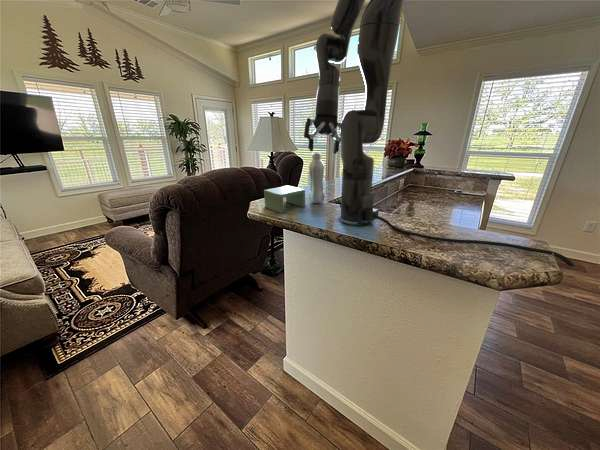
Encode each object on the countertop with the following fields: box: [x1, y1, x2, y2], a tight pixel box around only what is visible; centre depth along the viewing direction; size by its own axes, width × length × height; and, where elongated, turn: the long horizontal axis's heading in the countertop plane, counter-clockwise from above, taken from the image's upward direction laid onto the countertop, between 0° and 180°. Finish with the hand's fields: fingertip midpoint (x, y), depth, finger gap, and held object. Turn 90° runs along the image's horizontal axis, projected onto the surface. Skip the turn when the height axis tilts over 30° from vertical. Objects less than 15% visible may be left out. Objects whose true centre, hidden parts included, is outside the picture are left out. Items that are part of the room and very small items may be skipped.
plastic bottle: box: [308, 152, 326, 204], centre depth 95 cm, size 6×7×20 cm
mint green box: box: [263, 184, 306, 214], centre depth 93 cm, size 11×12×7 cm
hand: (323, 152), depth 82 cm, fingers open, 8 cm apart
